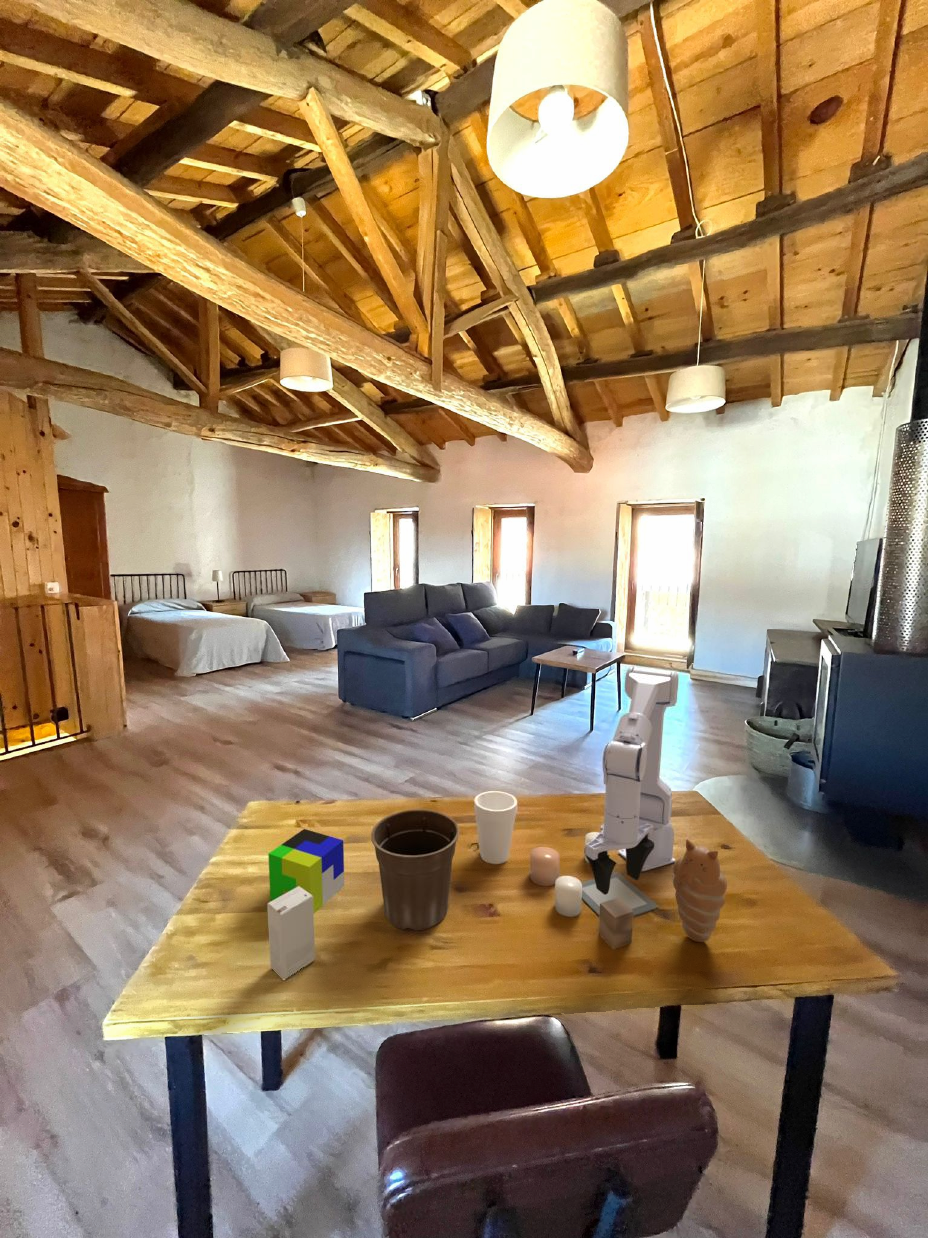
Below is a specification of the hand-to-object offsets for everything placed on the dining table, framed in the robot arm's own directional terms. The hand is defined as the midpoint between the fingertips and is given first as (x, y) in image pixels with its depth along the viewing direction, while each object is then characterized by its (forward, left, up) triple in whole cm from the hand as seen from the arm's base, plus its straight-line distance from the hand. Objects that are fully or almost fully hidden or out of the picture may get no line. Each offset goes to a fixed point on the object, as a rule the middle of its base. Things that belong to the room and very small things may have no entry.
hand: (617, 884), depth 94 cm
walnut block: (0, 0, -10) cm, 10 cm away
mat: (-7, -9, -10) cm, 15 cm away
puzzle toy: (+48, -34, -11) cm, 60 cm away
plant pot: (+30, -21, -11) cm, 38 cm away
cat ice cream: (-13, +6, -11) cm, 18 cm away
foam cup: (+8, -31, -11) cm, 34 cm away
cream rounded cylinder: (-12, -21, -10) cm, 26 cm away
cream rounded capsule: (+3, -10, -10) cm, 15 cm away
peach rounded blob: (+2, -20, -10) cm, 23 cm away
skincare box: (+53, -16, -11) cm, 56 cm away
